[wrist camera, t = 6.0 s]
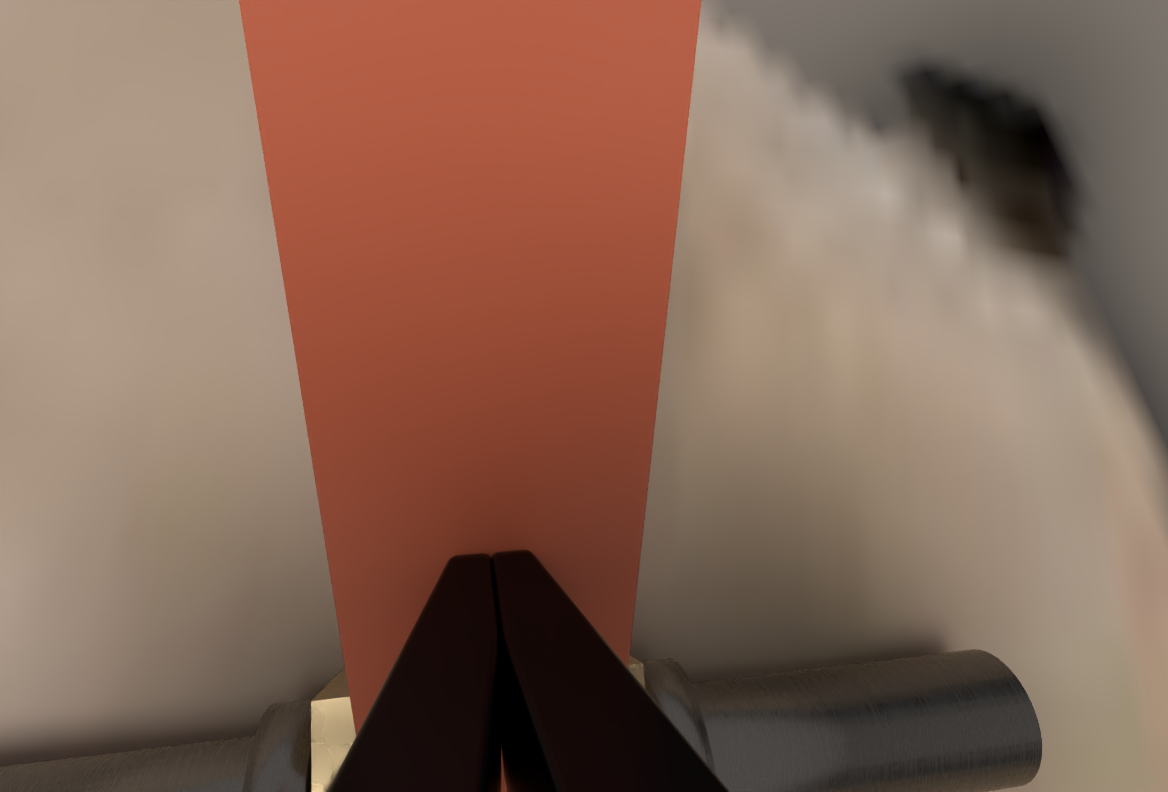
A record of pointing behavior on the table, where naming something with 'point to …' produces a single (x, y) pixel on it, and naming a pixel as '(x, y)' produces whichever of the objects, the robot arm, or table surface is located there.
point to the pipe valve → (700, 712)
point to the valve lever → (474, 285)
